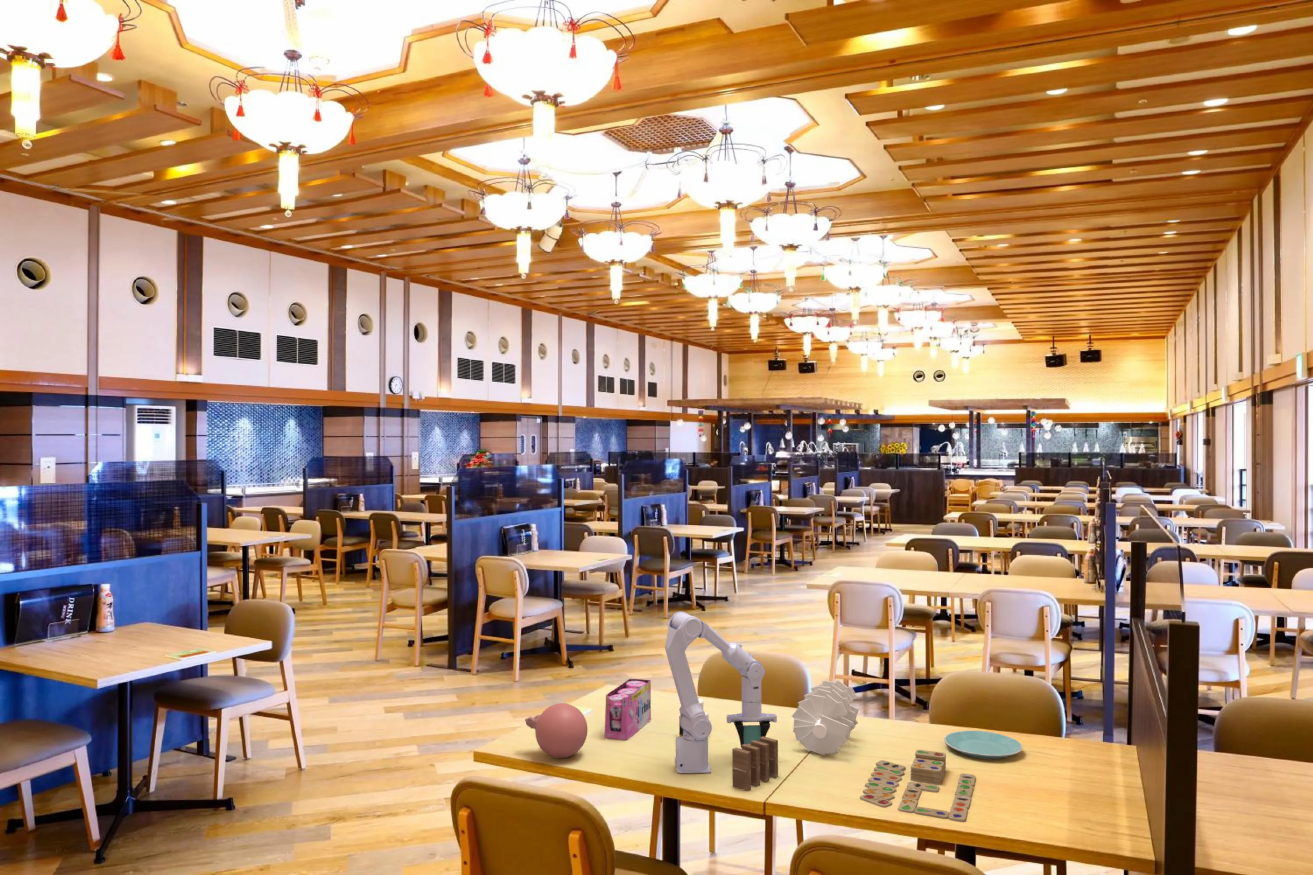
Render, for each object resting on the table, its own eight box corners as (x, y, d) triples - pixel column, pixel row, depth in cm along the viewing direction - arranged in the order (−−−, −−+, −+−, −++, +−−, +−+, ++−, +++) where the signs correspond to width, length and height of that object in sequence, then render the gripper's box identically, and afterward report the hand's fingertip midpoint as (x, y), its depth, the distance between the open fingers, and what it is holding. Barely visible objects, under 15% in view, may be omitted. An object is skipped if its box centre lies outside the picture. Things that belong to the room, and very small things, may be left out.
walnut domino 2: (756, 786, 231) (756, 749, 232) (741, 781, 235) (741, 745, 235) (760, 784, 233) (760, 747, 233) (745, 780, 236) (745, 743, 236)
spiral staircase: (805, 769, 255) (820, 739, 278) (859, 750, 249) (870, 721, 272) (778, 711, 258) (795, 686, 281) (831, 691, 252) (844, 667, 275)
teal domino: (760, 761, 251) (760, 726, 251) (743, 761, 250) (743, 726, 251) (759, 759, 252) (759, 724, 253) (742, 759, 252) (742, 725, 252)
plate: (998, 769, 244) (998, 759, 244) (929, 749, 261) (929, 739, 261) (1036, 752, 258) (1036, 743, 258) (969, 734, 275) (969, 725, 275)
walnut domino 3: (765, 782, 234) (765, 745, 235) (750, 777, 238) (750, 741, 238) (769, 780, 236) (769, 743, 236) (754, 776, 239) (754, 739, 239)
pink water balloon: (540, 742, 267) (540, 693, 268) (596, 751, 259) (596, 700, 259) (511, 758, 253) (512, 706, 254) (570, 768, 245) (570, 714, 245)
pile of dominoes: (878, 762, 251) (877, 743, 251) (976, 776, 240) (976, 756, 240) (853, 806, 219) (853, 784, 219) (966, 825, 208) (966, 801, 208)
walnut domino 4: (774, 778, 238) (774, 741, 238) (759, 773, 241) (759, 737, 241) (778, 776, 239) (777, 740, 239) (763, 771, 242) (763, 736, 242)
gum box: (625, 742, 268) (625, 698, 268) (602, 739, 271) (602, 696, 271) (651, 720, 291) (651, 679, 291) (629, 717, 293) (629, 677, 294)
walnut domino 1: (747, 791, 228) (747, 753, 228) (732, 786, 232) (732, 748, 232) (751, 789, 229) (751, 751, 230) (736, 784, 233) (736, 747, 233)
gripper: (773, 695, 256) (774, 741, 256) (725, 696, 256) (725, 742, 255) (778, 702, 249) (778, 749, 249) (728, 703, 248) (728, 750, 248)
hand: (751, 746), depth 251 cm, fingers closed on teal domino, 5 cm apart
